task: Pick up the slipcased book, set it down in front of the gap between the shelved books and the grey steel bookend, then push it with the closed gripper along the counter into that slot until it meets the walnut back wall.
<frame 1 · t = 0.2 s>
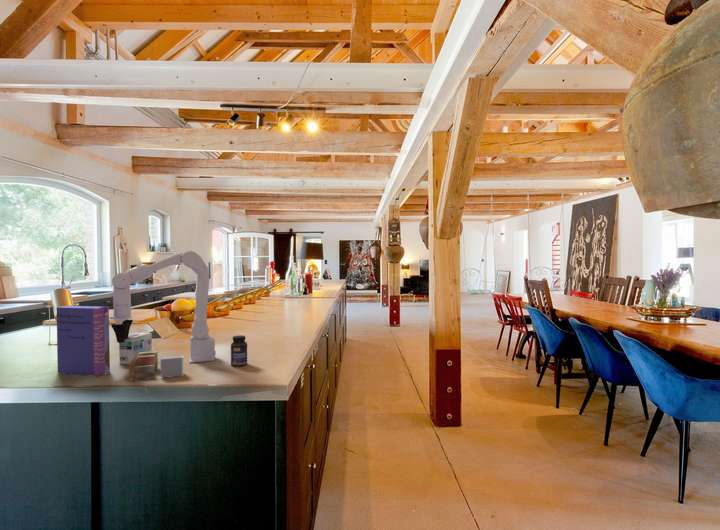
hand: (122, 340, 154), 10 cm above the countertop, tool pointing down, fingers open, 6 cm apart
pill bottle: (239, 365, 157), on the countertop
light bulb box: (136, 361, 163), on the countertop, touching gripper
cereal box: (83, 373, 147), on the countertop
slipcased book: (172, 375, 143), on the countertop
shelf: (142, 374, 145), on the countertop
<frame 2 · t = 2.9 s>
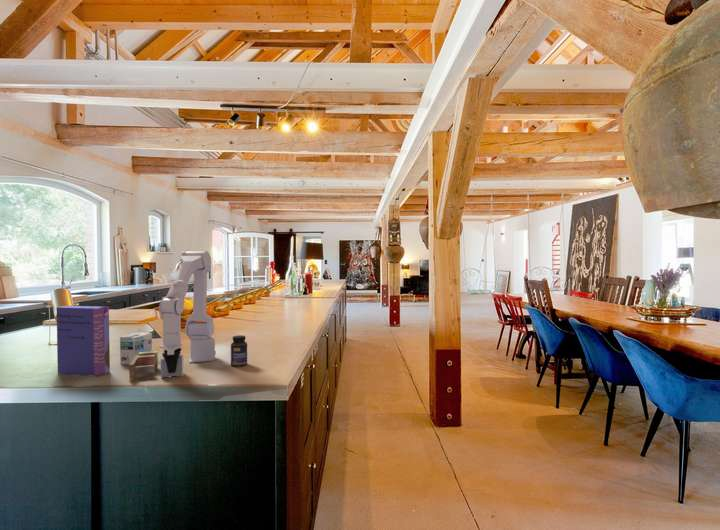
hand: (172, 370, 143), 2 cm above the countertop, tool pointing down, fingers closed on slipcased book, 4 cm apart
light bulb box: (136, 361, 163), on the countertop
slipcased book: (172, 375, 143), on the countertop, touching gripper
everything else where it was.
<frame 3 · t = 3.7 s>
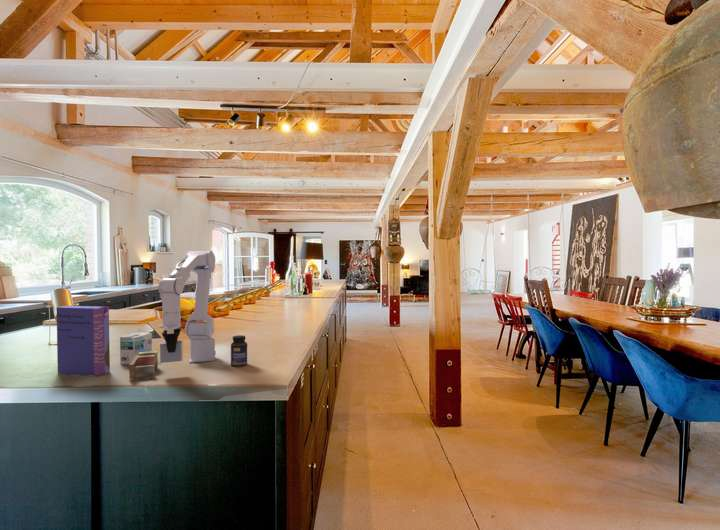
hand: (172, 350, 143), 9 cm above the countertop, tool pointing down, fingers closed on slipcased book, 4 cm apart
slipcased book: (171, 360, 143), point 5 cm above the countertop, touching gripper
everything else where it was.
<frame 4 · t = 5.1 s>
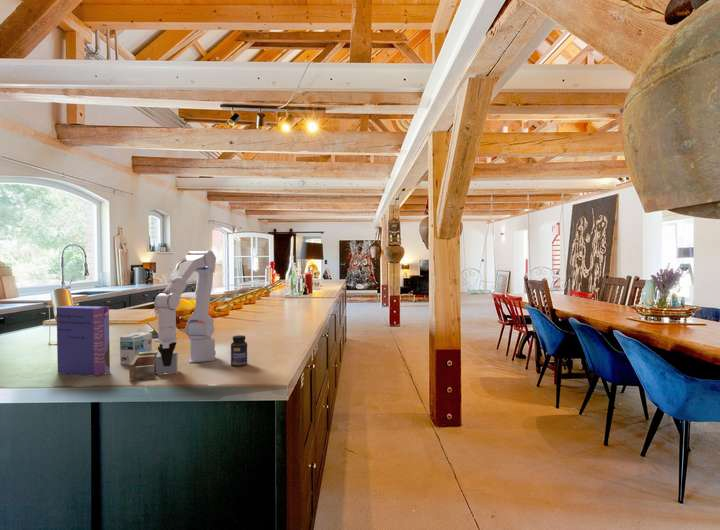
hand: (167, 364, 146), 3 cm above the countertop, tool pointing down, fingers closed on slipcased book, 4 cm apart
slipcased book: (167, 373, 146), on the countertop, touching gripper
everything else where it was.
when the fingers open (3 cm above the countertop, at t = 5.6 s): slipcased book stays where it is, on the countertop.
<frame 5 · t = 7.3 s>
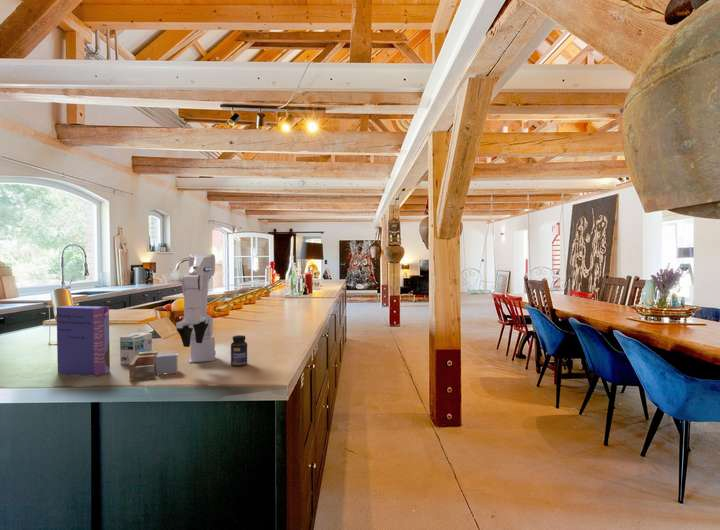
hand: (193, 344, 149), 9 cm above the countertop, tool pointing down, fingers open, 6 cm apart
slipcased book: (167, 372, 146), on the countertop
everything else where it was.
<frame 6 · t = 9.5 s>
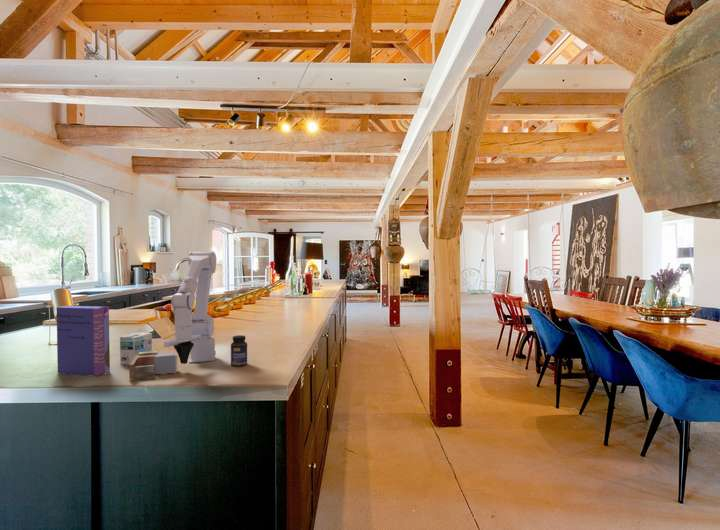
hand: (183, 363, 148), 3 cm above the countertop, tool pointing down, fingers closed
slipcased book: (166, 372, 146), on the countertop, touching gripper
everything else where it was.
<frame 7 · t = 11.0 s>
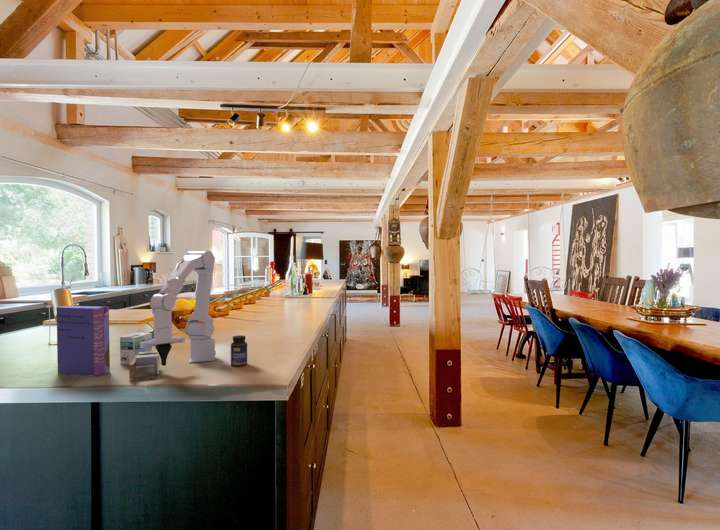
hand: (163, 365, 146), 3 cm above the countertop, tool pointing down, fingers closed
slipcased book: (148, 374, 145), on the countertop, touching gripper, shelf
everything else where it was.
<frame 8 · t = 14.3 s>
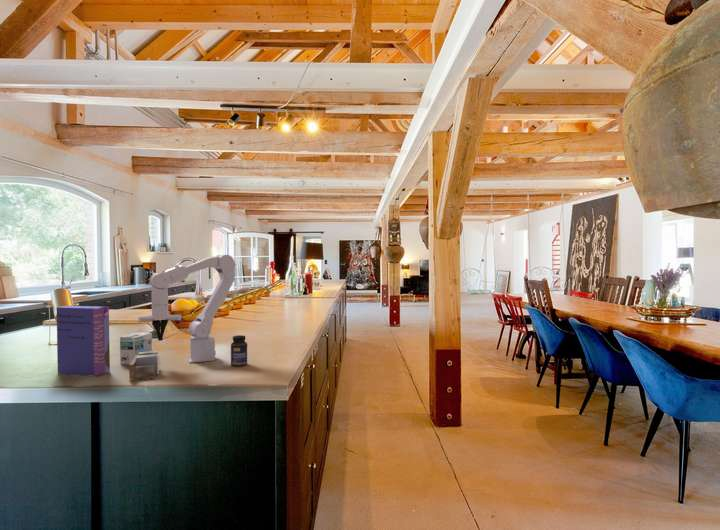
hand: (160, 340, 156), 10 cm above the countertop, tool pointing down, fingers closed
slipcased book: (148, 374, 145), on the countertop
everything else where it was.
at the end: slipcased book 1.4 cm from the target spot on the shelf, point 0.0 cm above the shelf's base; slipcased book tilted 0° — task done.
